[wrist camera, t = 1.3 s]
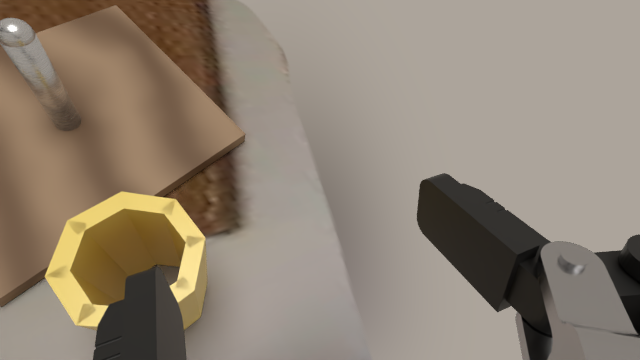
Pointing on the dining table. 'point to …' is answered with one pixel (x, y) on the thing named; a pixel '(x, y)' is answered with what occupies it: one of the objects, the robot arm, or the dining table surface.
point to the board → (96, 137)
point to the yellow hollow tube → (127, 255)
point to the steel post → (38, 72)
